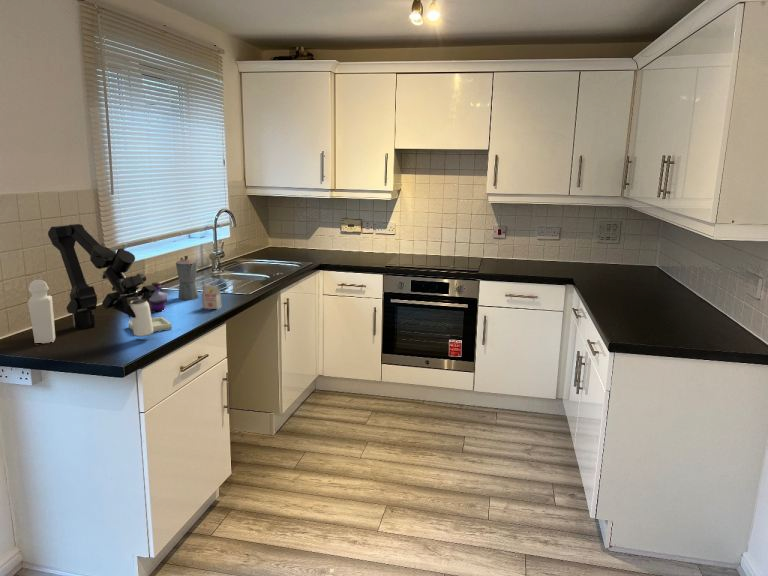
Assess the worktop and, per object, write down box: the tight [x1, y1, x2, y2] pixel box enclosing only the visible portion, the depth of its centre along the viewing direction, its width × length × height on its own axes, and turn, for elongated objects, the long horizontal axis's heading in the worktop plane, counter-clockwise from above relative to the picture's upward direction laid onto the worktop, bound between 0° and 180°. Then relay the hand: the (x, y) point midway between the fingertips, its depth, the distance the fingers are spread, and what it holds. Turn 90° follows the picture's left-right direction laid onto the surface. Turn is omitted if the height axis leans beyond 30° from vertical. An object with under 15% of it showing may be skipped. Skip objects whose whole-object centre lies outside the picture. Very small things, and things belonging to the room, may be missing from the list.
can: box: [129, 298, 154, 337], centre depth 199 cm, size 6×6×12 cm
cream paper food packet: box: [201, 284, 223, 310], centre depth 244 cm, size 4×7×10 cm, turn 75°
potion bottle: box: [149, 281, 169, 312], centre depth 240 cm, size 9×9×12 cm
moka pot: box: [175, 255, 200, 301], centre depth 262 cm, size 10×15×20 cm, turn 41°
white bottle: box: [27, 279, 56, 344], centre depth 196 cm, size 6×6×22 cm
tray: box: [128, 316, 173, 333], centre depth 215 cm, size 12×12×2 cm
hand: (142, 315), depth 198 cm, fingers closed on can, 6 cm apart
